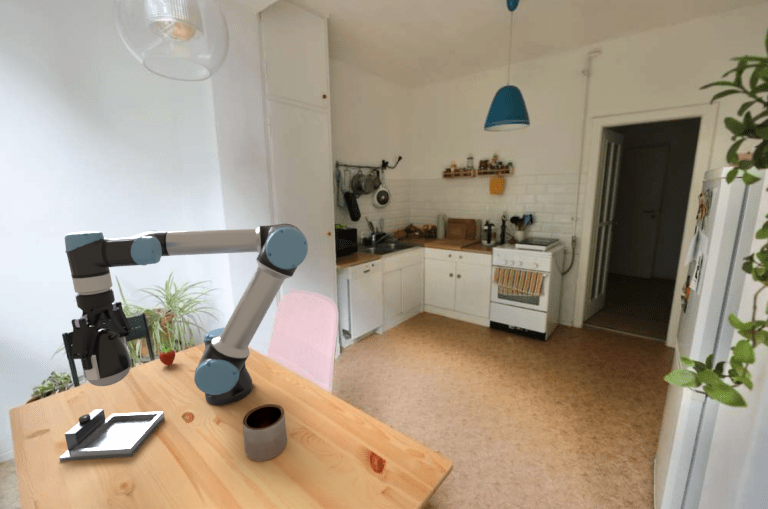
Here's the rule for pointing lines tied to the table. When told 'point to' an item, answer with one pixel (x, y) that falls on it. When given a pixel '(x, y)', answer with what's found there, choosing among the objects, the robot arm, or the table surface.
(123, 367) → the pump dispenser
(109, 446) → the tray unit
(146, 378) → the table surface
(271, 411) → the planter
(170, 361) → the fruit
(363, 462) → the table surface
